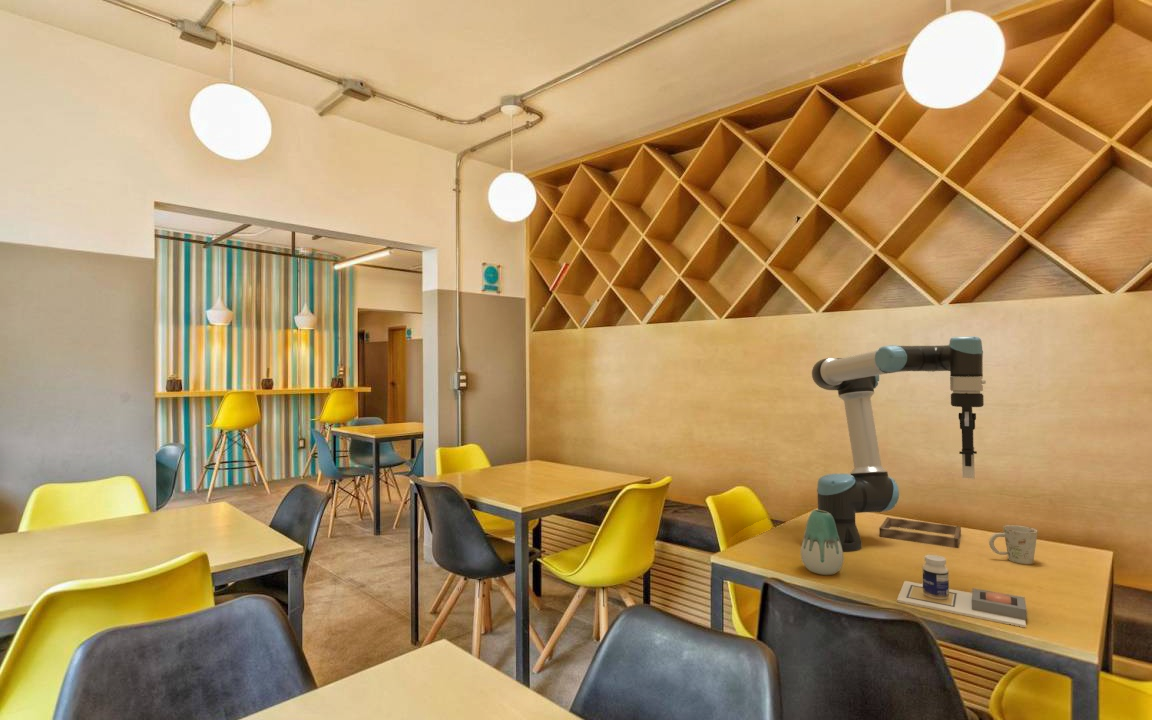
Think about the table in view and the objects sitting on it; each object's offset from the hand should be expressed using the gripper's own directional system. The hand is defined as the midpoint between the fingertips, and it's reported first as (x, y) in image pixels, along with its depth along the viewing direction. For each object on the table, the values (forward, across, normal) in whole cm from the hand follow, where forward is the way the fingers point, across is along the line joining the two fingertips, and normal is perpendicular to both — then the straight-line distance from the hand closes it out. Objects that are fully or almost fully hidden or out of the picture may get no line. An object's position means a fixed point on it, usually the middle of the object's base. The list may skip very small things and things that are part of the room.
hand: (968, 477), depth 159 cm
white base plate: (+29, -17, +2) cm, 34 cm away
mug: (+30, +31, -10) cm, 44 cm away
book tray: (+29, +46, +16) cm, 57 cm away
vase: (+30, -12, +36) cm, 48 cm away
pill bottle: (+29, -17, +7) cm, 34 cm away
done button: (+29, -17, -6) cm, 34 cm away
